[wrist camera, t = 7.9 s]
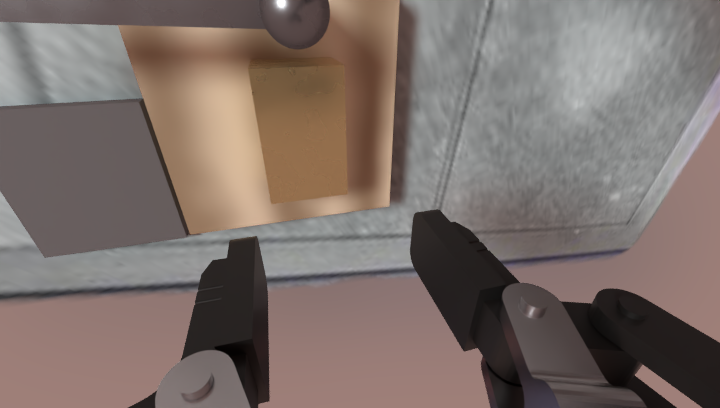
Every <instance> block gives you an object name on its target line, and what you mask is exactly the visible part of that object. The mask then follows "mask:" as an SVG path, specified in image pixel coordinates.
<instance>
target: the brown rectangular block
mask: <svg viewBox="0 0 720 408" xmlns="http://www.w3.org/2000/svg"><path fill="white" fill-rule="evenodd" d="M248 73H249V78H250V84H251V90H252V96H253V102H254V107H255V113H256V119H257V125H258V131H259V136H260V142H261V148H262V154H263V160H264V165H265V171H266V177H267V183H268V189H269V194H270V200H271V204H277V203H285V202H292V201H300V200H308V199H315V198H323V197H331V196H338V195H346V194H348V182H347V146H346V110H345V74H344V65H343V64H342V63H340V62H339V61H337V60H335V59H334V58H332V57H312V58H283V59H255V60H250V63H249V67H248Z"/></svg>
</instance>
